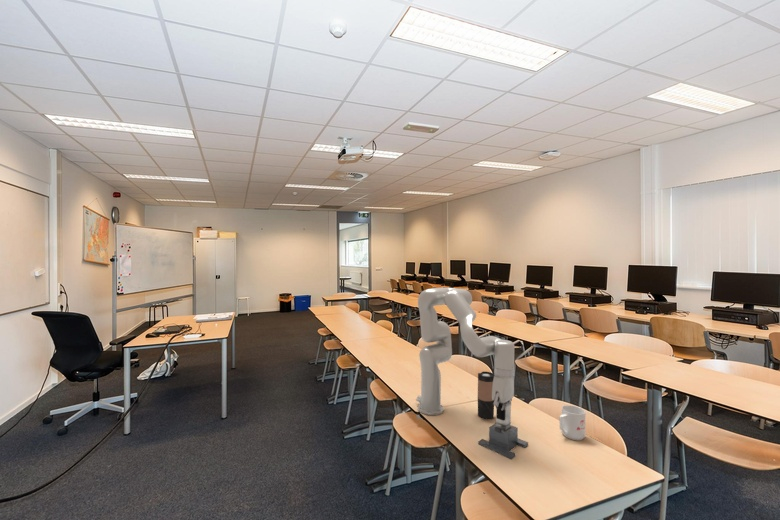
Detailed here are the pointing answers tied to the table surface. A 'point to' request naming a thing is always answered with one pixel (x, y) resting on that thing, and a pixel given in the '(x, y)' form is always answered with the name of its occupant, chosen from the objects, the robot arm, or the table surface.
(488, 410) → the travel mug
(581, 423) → the mug
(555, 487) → the table surface
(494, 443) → the stand
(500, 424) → the column
